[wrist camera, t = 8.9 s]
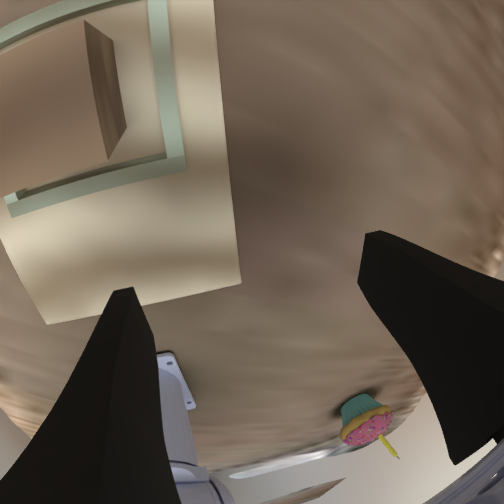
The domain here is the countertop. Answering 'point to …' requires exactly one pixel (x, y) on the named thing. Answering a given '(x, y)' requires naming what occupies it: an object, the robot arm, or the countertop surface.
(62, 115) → the walnut block
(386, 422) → the cupcake
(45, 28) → the board
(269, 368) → the countertop surface
